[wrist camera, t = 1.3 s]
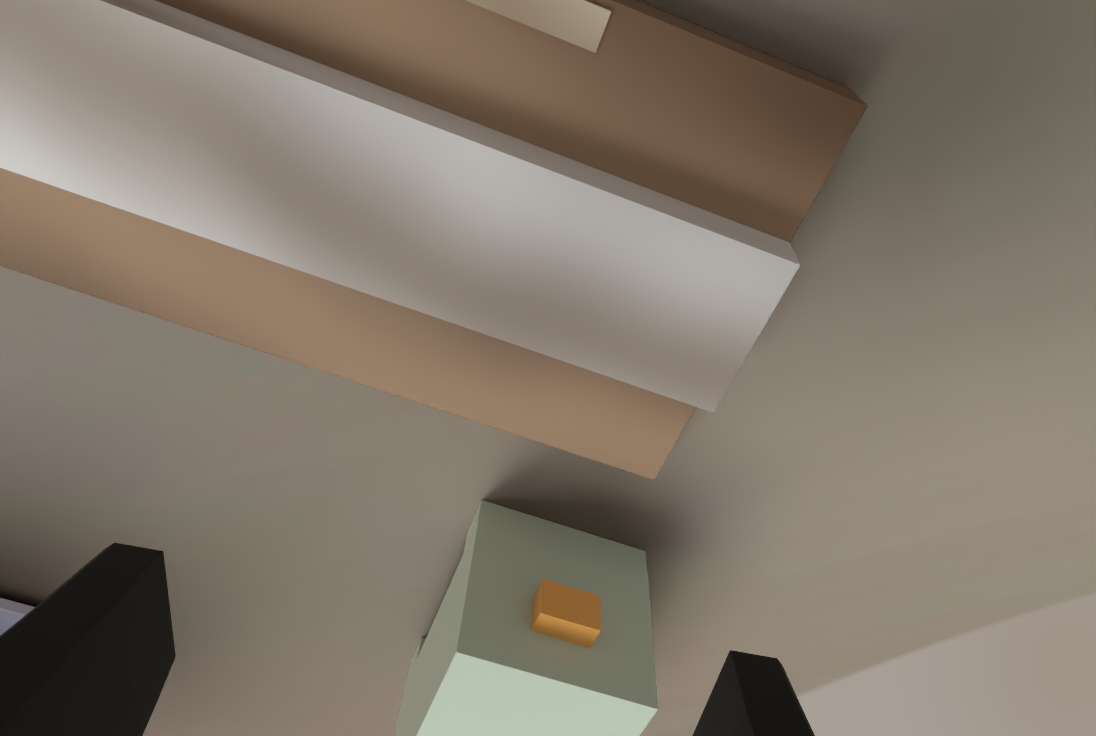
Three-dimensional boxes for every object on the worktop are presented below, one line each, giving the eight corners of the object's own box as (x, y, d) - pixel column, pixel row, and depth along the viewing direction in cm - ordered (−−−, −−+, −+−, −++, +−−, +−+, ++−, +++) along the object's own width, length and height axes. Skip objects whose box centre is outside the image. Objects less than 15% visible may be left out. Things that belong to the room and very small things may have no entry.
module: (554, 704, 26) (546, 867, 22) (409, 663, 25) (374, 824, 21) (655, 533, 22) (669, 692, 18) (489, 481, 21) (464, 633, 17)
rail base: (651, 448, 21) (670, 659, 15) (-465, 75, 17) (-941, 185, 12) (850, 88, 16) (975, 214, 11) (-620, -523, 12) (-1512, -784, 7)
